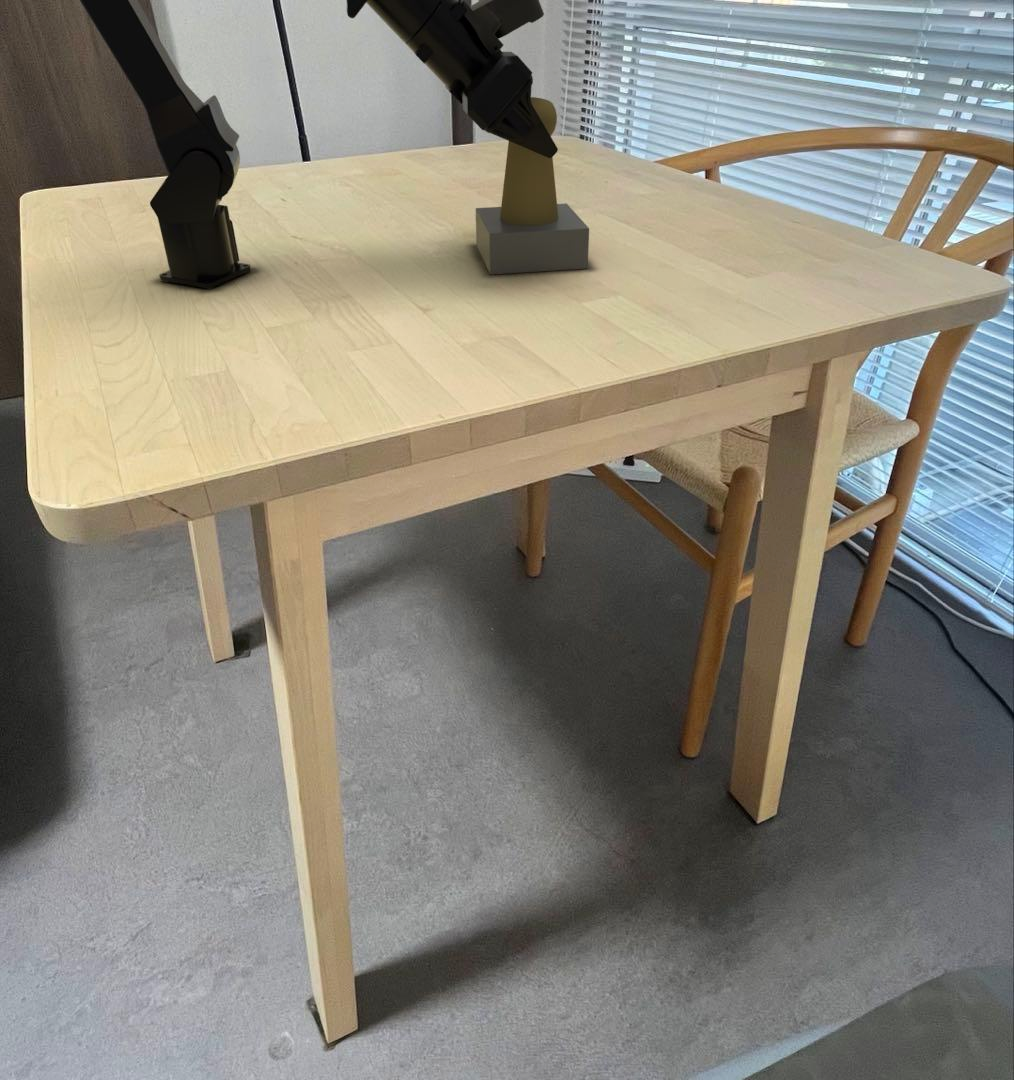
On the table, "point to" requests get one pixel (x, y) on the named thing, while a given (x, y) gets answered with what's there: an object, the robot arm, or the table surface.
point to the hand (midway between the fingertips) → (544, 145)
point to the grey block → (532, 243)
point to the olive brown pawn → (530, 179)
